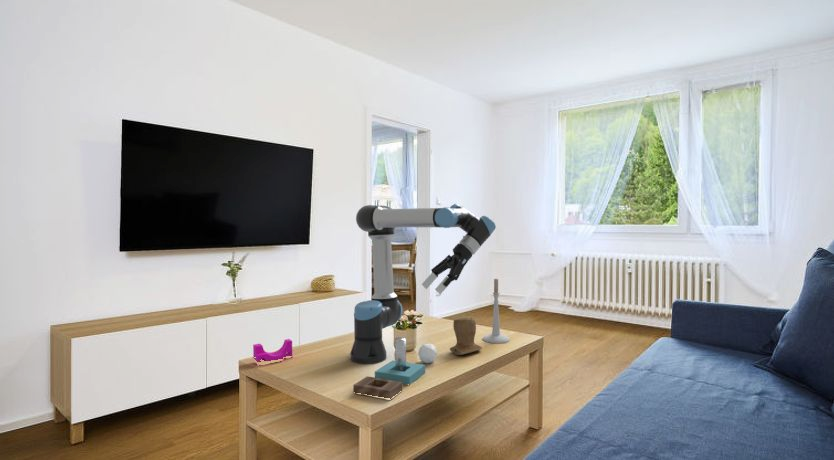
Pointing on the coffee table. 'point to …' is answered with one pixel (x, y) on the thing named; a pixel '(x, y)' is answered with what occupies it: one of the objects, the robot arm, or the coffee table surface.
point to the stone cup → (464, 336)
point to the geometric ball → (427, 353)
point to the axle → (400, 354)
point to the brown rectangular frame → (378, 387)
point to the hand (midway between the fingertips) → (430, 289)
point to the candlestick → (496, 321)
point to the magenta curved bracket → (267, 356)
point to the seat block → (400, 372)
